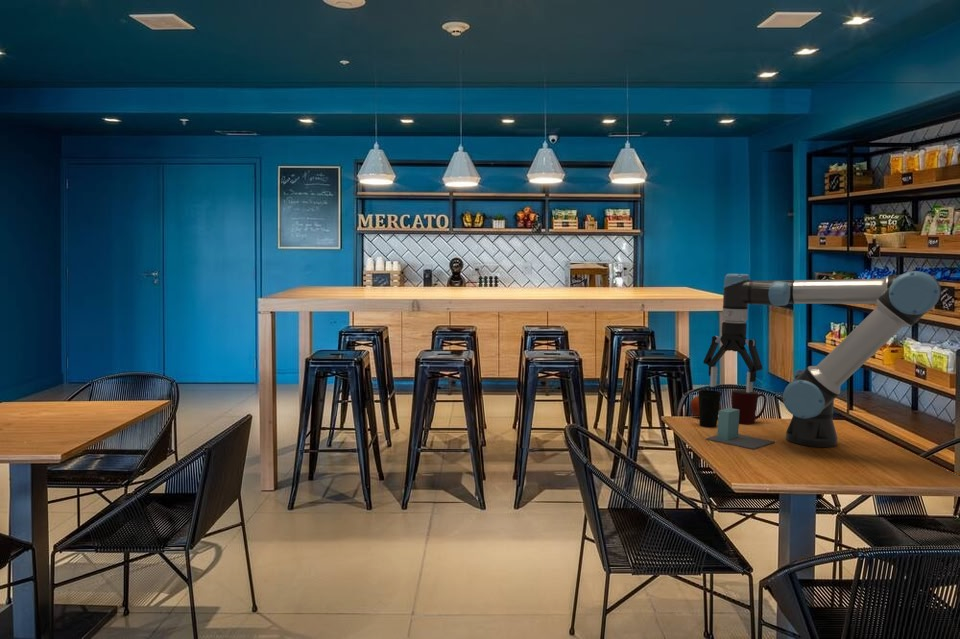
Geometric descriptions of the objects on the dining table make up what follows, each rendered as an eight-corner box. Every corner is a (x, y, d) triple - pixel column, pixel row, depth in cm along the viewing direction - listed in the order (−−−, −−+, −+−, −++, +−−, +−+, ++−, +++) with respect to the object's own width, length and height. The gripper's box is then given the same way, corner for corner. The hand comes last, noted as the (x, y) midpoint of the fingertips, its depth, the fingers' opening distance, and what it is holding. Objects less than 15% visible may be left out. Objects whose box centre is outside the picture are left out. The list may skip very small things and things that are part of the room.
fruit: (720, 415, 273) (721, 394, 272) (720, 421, 263) (721, 399, 262) (690, 413, 276) (691, 392, 275) (689, 419, 266) (690, 397, 265)
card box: (716, 438, 236) (718, 410, 235) (727, 434, 240) (729, 407, 240) (727, 440, 233) (728, 412, 232) (738, 437, 238) (739, 409, 237)
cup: (721, 425, 257) (723, 391, 256) (717, 429, 250) (719, 394, 249) (698, 422, 260) (700, 389, 259) (694, 426, 254) (696, 392, 253)
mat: (727, 433, 245) (727, 432, 245) (774, 442, 233) (774, 441, 233) (706, 439, 235) (706, 438, 235) (753, 449, 223) (753, 448, 223)
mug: (760, 420, 267) (761, 390, 266) (769, 425, 258) (770, 394, 257) (726, 419, 267) (728, 389, 266) (734, 424, 258) (736, 393, 257)
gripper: (694, 319, 240) (691, 385, 242) (765, 325, 223) (761, 395, 224) (706, 318, 245) (703, 382, 247) (776, 324, 228) (772, 393, 229)
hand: (731, 389), depth 236 cm, fingers open, 12 cm apart
